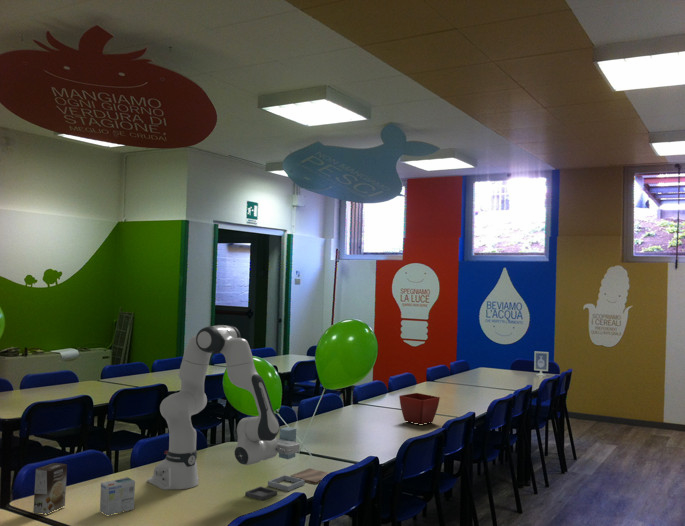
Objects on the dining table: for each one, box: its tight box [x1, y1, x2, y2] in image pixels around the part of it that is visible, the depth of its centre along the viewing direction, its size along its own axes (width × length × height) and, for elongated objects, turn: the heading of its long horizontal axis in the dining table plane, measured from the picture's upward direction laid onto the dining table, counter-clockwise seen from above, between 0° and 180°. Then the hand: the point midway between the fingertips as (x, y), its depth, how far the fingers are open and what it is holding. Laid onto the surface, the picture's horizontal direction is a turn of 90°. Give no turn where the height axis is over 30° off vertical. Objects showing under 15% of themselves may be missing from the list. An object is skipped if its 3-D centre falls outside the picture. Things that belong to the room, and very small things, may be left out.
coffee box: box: [32, 462, 68, 514], centre depth 225 cm, size 9×6×16 cm
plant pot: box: [398, 392, 441, 424], centre depth 391 cm, size 19×19×17 cm
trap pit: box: [244, 486, 278, 502], centre depth 248 cm, size 9×9×2 cm
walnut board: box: [290, 467, 330, 485], centre depth 274 cm, size 14×14×1 cm
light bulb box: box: [99, 476, 136, 516], centre depth 227 cm, size 11×7×11 cm, turn 135°
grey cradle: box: [267, 474, 305, 492], centre depth 261 cm, size 11×11×2 cm
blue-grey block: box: [278, 426, 297, 460], centre depth 262 cm, size 5×5×12 cm
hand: (288, 441), depth 263 cm, fingers closed on blue-grey block, 5 cm apart
